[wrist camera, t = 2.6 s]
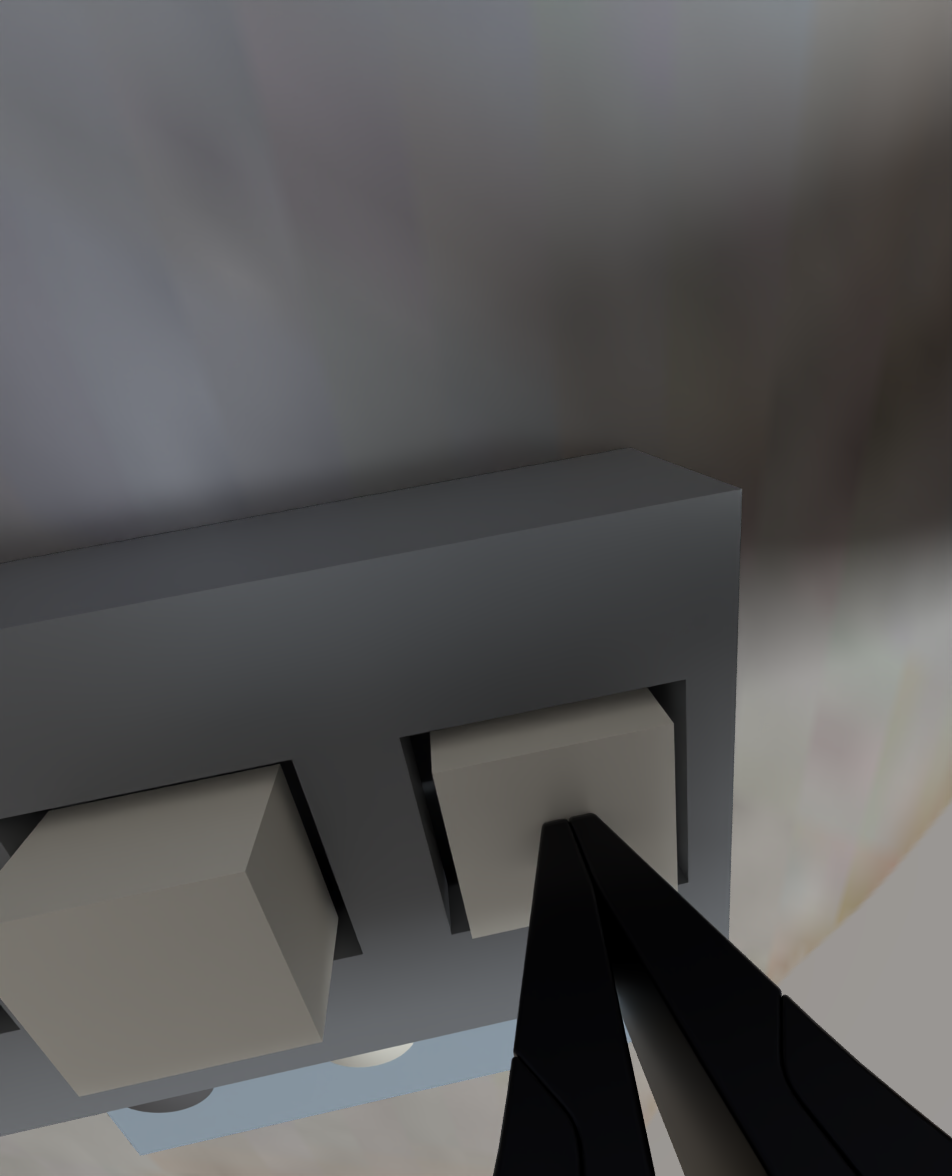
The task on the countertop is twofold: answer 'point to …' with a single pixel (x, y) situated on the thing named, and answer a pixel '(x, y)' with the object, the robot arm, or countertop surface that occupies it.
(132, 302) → the countertop surface
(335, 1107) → the pattern card
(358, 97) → the countertop surface
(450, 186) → the countertop surface
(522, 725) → the button
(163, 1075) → the button middle
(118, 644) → the button board
